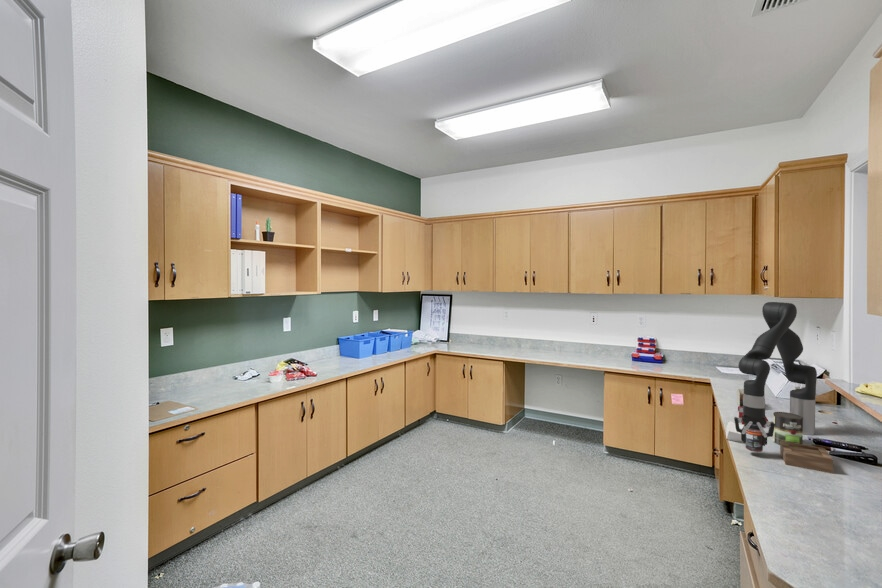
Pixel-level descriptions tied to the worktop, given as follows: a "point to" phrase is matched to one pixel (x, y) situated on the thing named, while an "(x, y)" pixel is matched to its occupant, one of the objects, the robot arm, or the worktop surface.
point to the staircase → (740, 396)
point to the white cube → (733, 432)
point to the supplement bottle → (754, 439)
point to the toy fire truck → (742, 415)
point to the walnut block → (806, 456)
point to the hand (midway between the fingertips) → (753, 443)
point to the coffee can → (788, 428)
